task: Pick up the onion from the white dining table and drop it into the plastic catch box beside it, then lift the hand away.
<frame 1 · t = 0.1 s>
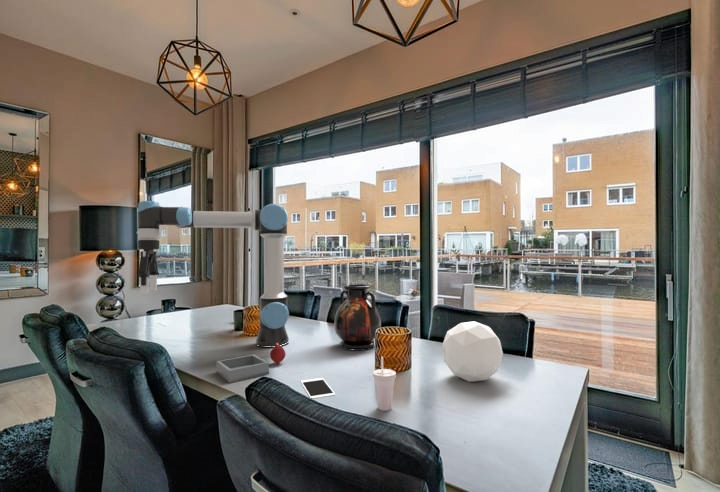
hand: (148, 292, 146), 28 cm above the table, tool pointing down, fingers open, 13 cm apart
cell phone: (317, 389, 116), on the table
geometric orb: (472, 379, 122), on the table
catch box: (242, 373, 131), on the table
onion: (277, 364, 141), on the table
amphora vase: (357, 346, 166), on the table
smoothie: (384, 408, 100), on the table
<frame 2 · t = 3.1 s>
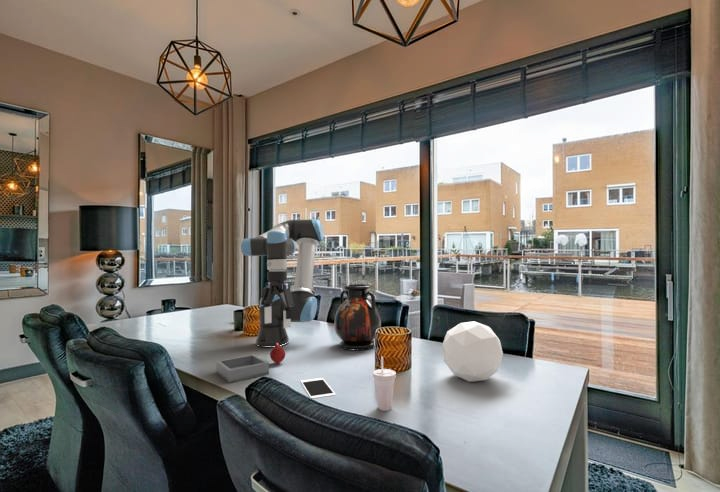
hand: (277, 325, 141), 15 cm above the table, tool pointing down, fingers open, 13 cm apart
nothing on the table moved.
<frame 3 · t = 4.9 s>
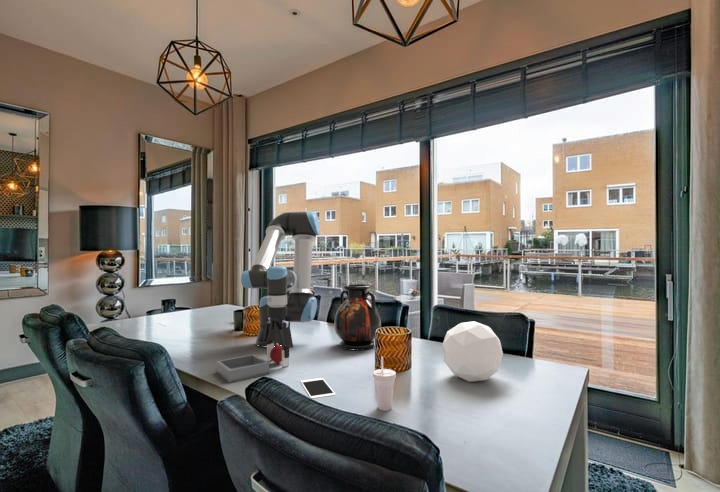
hand: (277, 363, 141), 0 cm above the table, tool pointing down, fingers open, 10 cm apart
nothing on the table moved.
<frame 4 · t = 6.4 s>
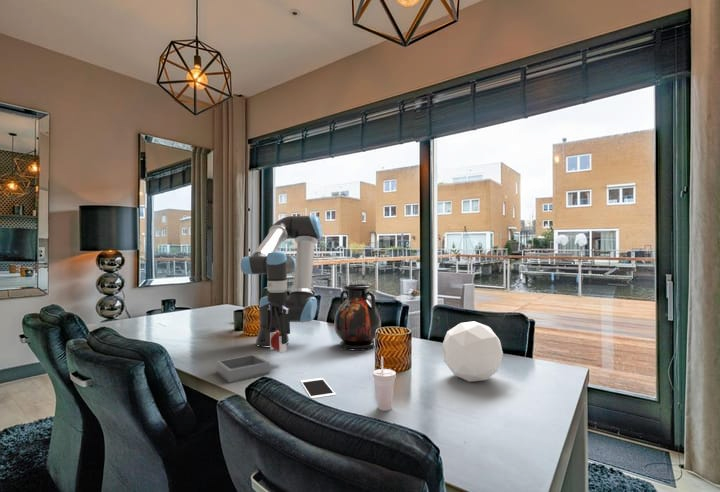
hand: (278, 350, 142), 5 cm above the table, tool pointing down, fingers closed on onion, 6 cm apart
onion: (278, 351, 142), point 5 cm above the table, touching gripper
everything else where it was.
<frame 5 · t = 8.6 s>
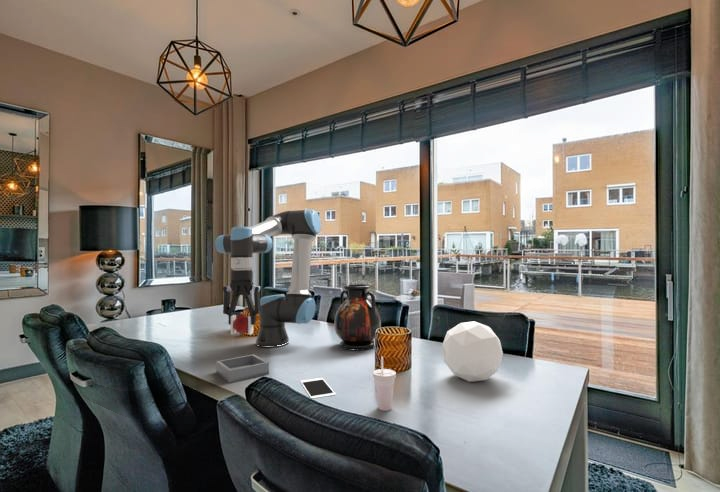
hand: (242, 333, 131), 14 cm above the table, tool pointing down, fingers closed on onion, 6 cm apart
onion: (242, 334, 131), point 14 cm above the table, touching gripper
everything else where it was.
when the fingers open (3 cm above the table, at t = 11.2 s): onion drops 2 cm, resting on catch box.
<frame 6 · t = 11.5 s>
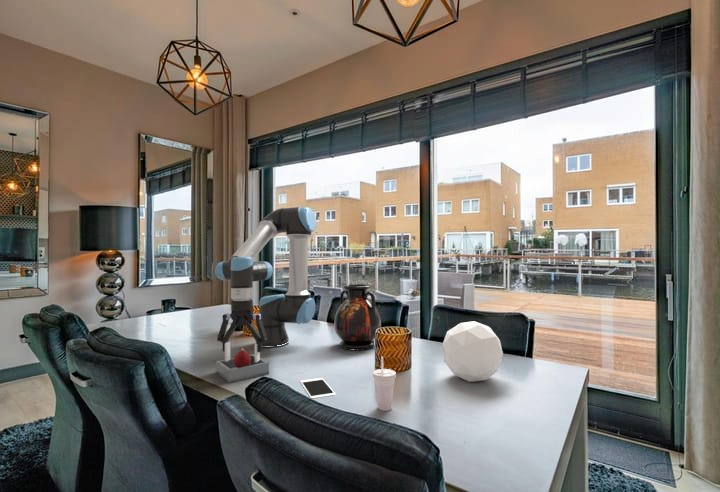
hand: (242, 360, 131), 4 cm above the table, tool pointing down, fingers open, 10 cm apart
onion: (241, 370, 131), point 1 cm above the table, touching catch box
everything else where it was.
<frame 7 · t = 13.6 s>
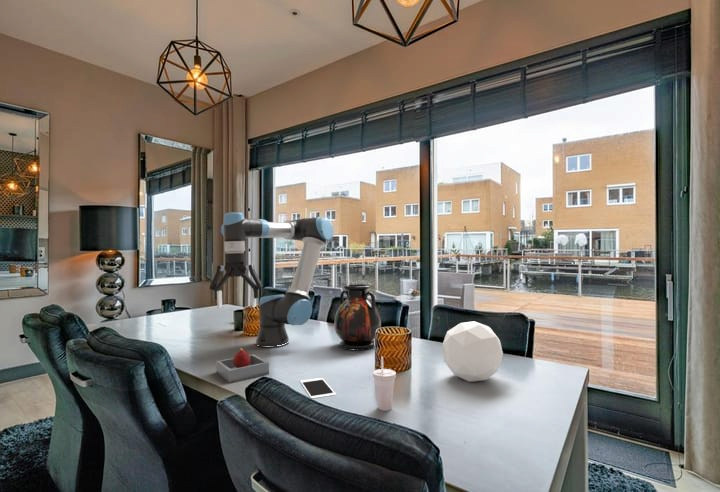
hand: (236, 307, 141), 22 cm above the table, tool pointing down, fingers open, 13 cm apart
nothing on the table moved.
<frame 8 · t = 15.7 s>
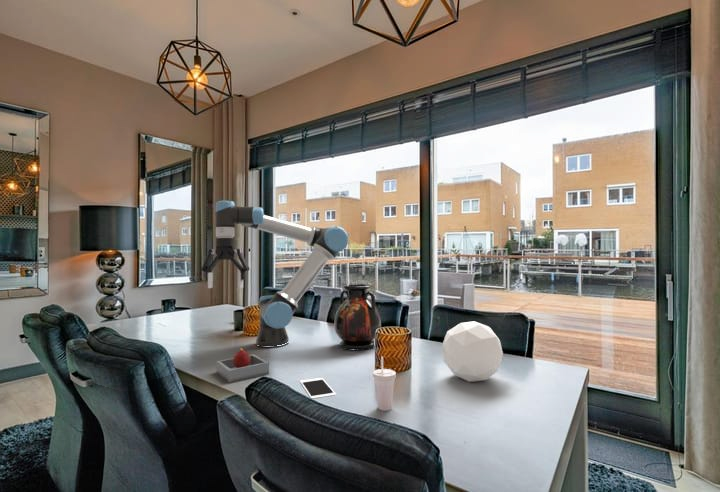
hand: (225, 288, 153), 29 cm above the table, tool pointing down, fingers open, 13 cm apart
nothing on the table moved.
at the end: onion inside the target area on the catch box (0.3 cm from its centre), point 0.6 cm above the catch box's base; the gripper is holding nothing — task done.
